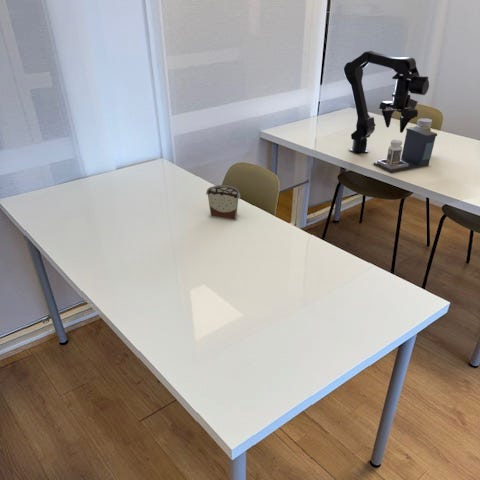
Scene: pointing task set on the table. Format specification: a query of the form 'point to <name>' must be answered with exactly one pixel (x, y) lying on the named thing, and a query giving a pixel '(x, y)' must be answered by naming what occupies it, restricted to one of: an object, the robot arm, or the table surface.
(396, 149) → the pill bottle
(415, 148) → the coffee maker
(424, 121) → the bottle
